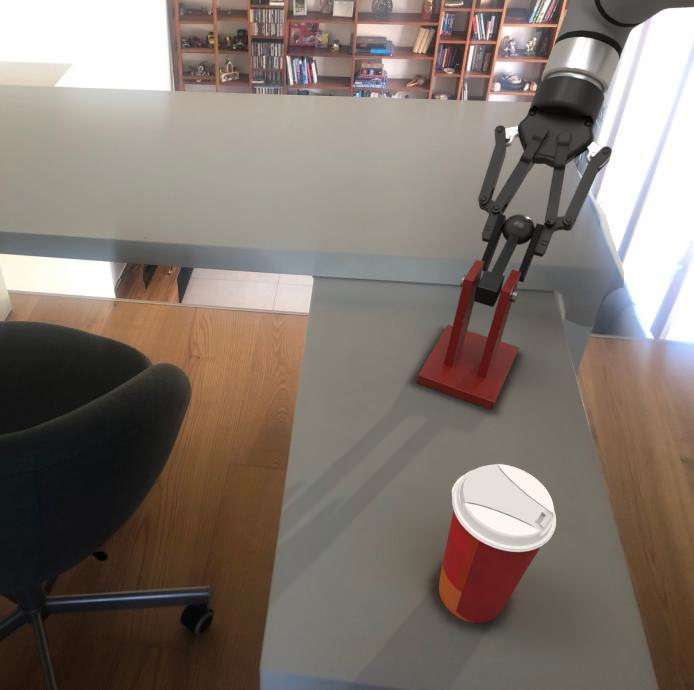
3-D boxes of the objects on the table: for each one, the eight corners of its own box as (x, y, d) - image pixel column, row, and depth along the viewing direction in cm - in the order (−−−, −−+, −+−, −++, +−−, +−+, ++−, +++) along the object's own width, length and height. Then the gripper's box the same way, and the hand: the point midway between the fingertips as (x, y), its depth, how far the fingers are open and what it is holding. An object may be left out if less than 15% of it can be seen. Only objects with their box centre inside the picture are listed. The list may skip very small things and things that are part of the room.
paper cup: (531, 591, 62) (578, 495, 53) (488, 654, 58) (532, 561, 49) (453, 540, 66) (484, 442, 57) (408, 594, 62) (434, 499, 53)
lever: (504, 228, 85) (510, 204, 82) (534, 236, 84) (541, 212, 81) (466, 303, 78) (471, 280, 75) (498, 313, 76) (504, 289, 74)
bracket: (446, 331, 90) (467, 240, 81) (516, 354, 86) (547, 261, 77) (416, 382, 82) (435, 289, 73) (491, 410, 79) (522, 315, 70)
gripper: (644, 116, 82) (573, 301, 82) (501, 91, 89) (436, 262, 89) (655, 86, 75) (577, 288, 76) (500, 61, 82) (429, 246, 82)
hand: (501, 273), depth 82 cm, fingers closed on lever, 4 cm apart
